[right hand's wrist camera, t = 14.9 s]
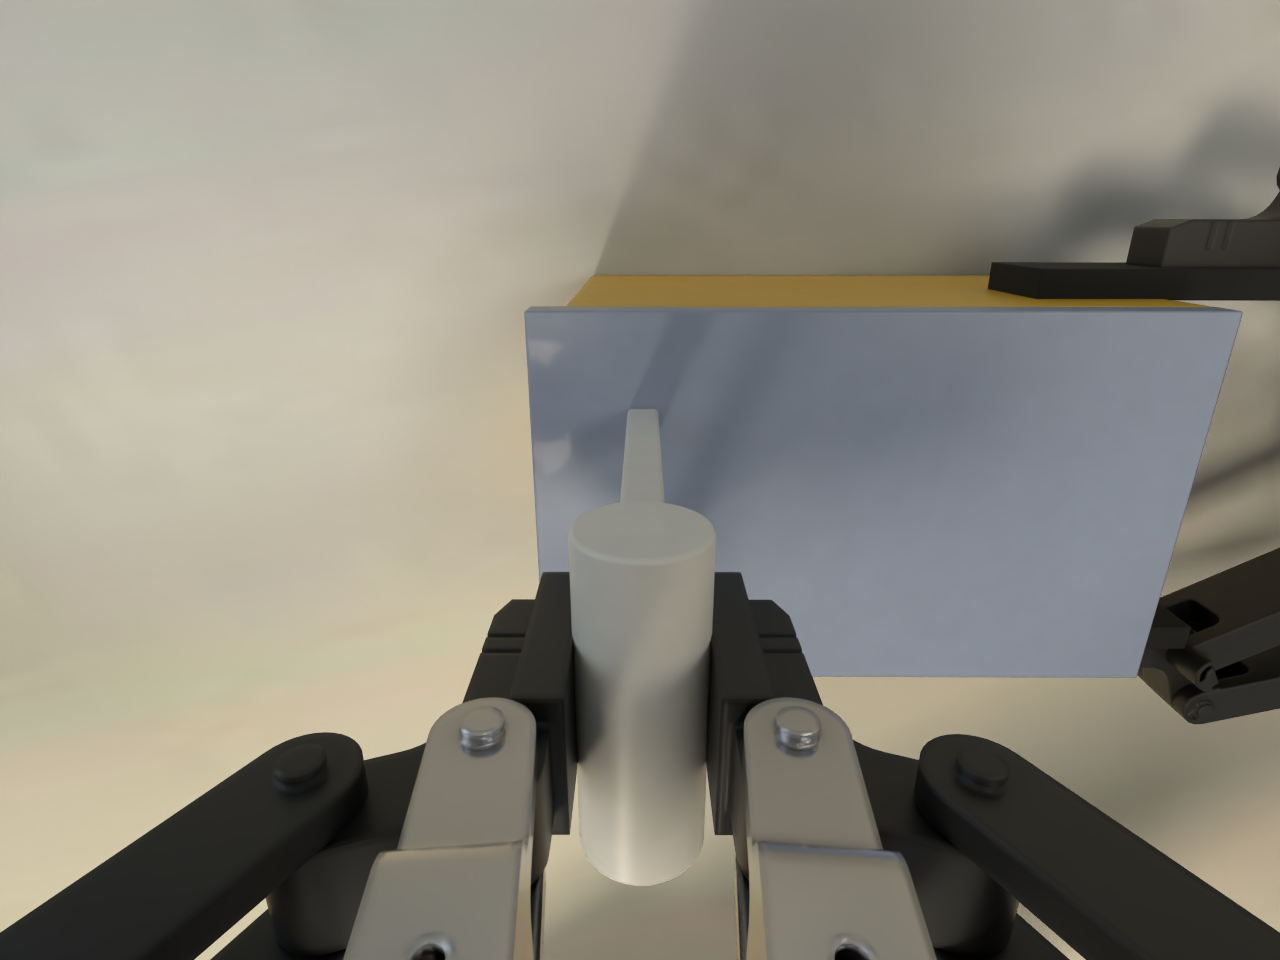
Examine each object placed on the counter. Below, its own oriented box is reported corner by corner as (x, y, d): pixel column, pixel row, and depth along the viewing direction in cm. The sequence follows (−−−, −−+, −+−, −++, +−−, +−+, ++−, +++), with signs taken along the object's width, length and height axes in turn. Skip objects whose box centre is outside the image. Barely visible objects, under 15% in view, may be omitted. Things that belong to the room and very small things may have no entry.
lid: (548, 657, 20) (478, 981, 11) (529, 306, 16) (410, 398, 8) (1116, 659, 20) (1466, 987, 11) (1214, 306, 16) (1814, 400, 8)
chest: (598, 520, 29) (577, 657, 20) (592, 274, 25) (564, 306, 16) (967, 521, 29) (1115, 658, 20) (1011, 275, 25) (1212, 306, 16)
